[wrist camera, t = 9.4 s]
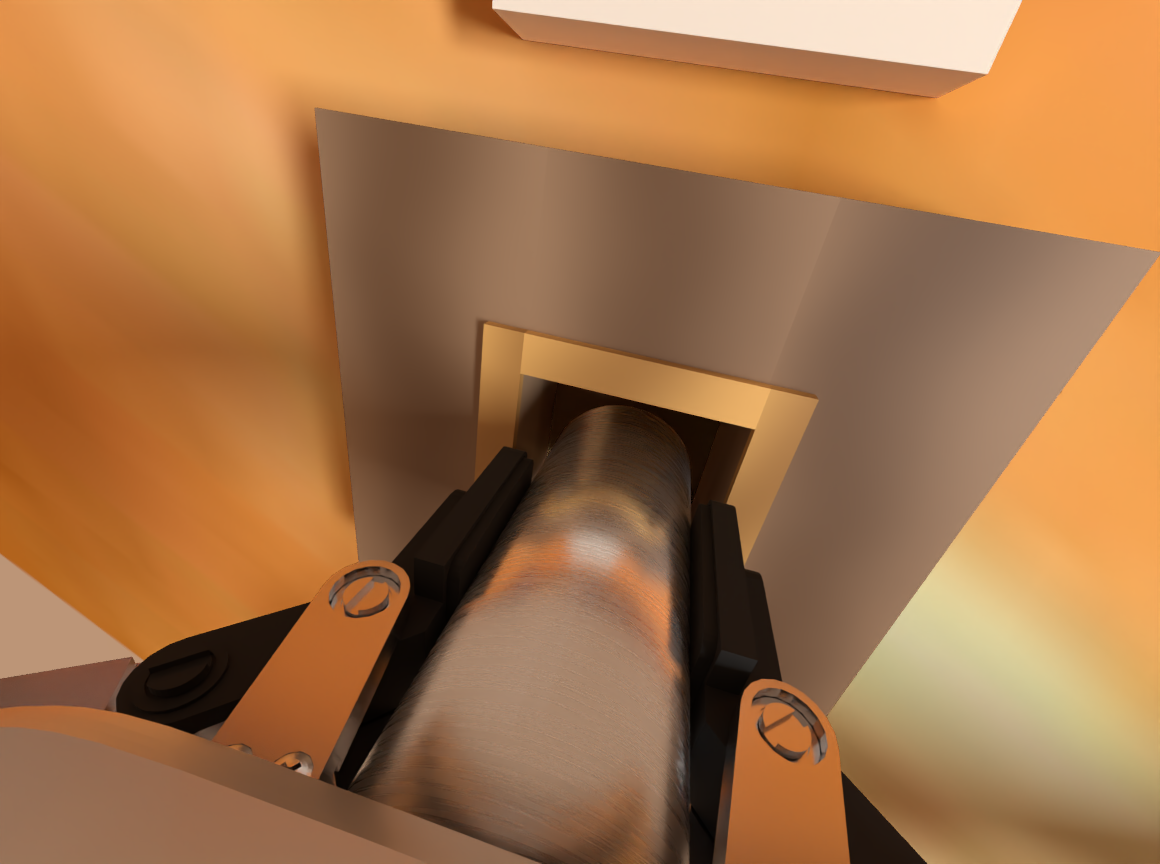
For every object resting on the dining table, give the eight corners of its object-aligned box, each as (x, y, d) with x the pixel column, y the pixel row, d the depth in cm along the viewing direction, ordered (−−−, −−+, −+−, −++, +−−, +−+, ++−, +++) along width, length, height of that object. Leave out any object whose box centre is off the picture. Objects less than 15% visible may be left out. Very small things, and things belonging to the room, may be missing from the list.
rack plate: (1012, 239, 11) (1178, 253, 7) (785, 638, 18) (810, 751, 14) (416, 135, 13) (303, 104, 9) (420, 531, 20) (357, 606, 16)
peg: (708, 425, 12) (758, 1031, 3) (670, 540, 14) (631, 1122, 5) (564, 390, 12) (247, 822, 4) (545, 505, 14) (306, 978, 5)
